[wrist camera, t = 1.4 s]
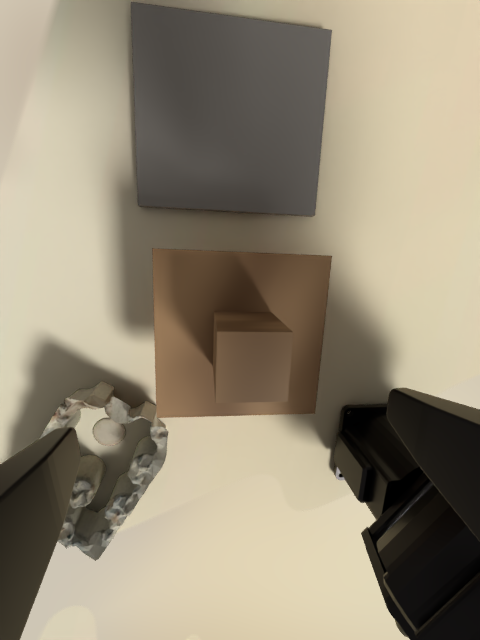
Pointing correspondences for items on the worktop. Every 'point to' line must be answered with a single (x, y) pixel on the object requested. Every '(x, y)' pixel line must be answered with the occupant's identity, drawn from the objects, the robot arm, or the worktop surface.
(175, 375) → the lid
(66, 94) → the worktop surface
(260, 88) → the mat
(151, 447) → the egg carton
